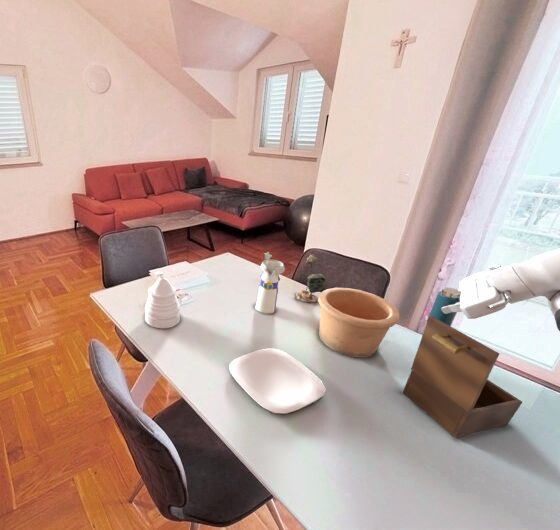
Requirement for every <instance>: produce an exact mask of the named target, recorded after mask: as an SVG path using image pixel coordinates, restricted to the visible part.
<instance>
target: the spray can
mask: <svg viewBox="0 0 560 530" xmlns="http://www.w3.org/2000/svg"><path fill="white" fill-rule="evenodd" d="M460 295H461V291H459V289H457V288H453V287H448V286H447V287H443V288H442V290H440V291H438V292H437V295H436V297H435V299H434V301H433V305H432V307H431V309H430V311H429V314H428V317H427V319H426V322H427V321H428V318H429V316H433V317H434V318H436V319H438V320H440V321H442V322H443V323H445V324H447V325H449V326H451V327H452V325H453V322H454V320H455V317H456V316H457V313H458V312H451V313H447V314H445V313H443V311H442V310H441V307H442V306H445V305H453V304H456V303H457V302H460Z"/></svg>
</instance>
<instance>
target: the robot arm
mask: <svg viewBox="0 0 560 530" xmlns="http://www.w3.org/2000/svg"><path fill="white" fill-rule="evenodd" d="M458 290H459V291H461V295H460V302H457V303H456V304H453V305H445V306H442V307H441V310H442V311H443V313H445V314H447V313H451V312H457V313H462V314H463V315H464V316H465V317H466V318H467V319H469V320H474V319H478V318H482V317H486V316H488V315H491V314H495V313H497V312H500V311H502V310H504V309H505V308H506V306H507V305H508V304H510V305H512V304H513V305H514V304H516V303H517V304H518V303H520V302H524V301H527V300H531V299H534V298H538V297H545V300H546V303H547V305H548V307H549V311H550V312H551V314H552V316H553V317H554V321H555V325H556V329H557V330H558V331H559V332H560V247H559V248H556V249H552V250H549V251H545V252H543V253H540V254H537V255H535V256H533V257H531V258H529V259H527V260H524V261H522V262H514V263H511V264H508V265H502V264H494V265H491V266H488V268H487V269H486V270H482V271H480V272H476V273H474V274H472V275H469V276H467V277H464V278H463V279H461V280H460V281H459V282H458Z"/></svg>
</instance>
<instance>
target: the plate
mask: <svg viewBox="0 0 560 530" xmlns="http://www.w3.org/2000/svg"><path fill="white" fill-rule="evenodd" d="M228 369H229V373H230V375H231V376H232V378H233V379H234V381H235V382H236V383H237V384H238V386H240V387H241V389H242V390H243V391H244V392H245V393H246V394H247V395H248V396H249V397H250V398H251V399H252V400H253V401H254V402H255V403H256V404H257V405H258V406H260V407H261V408H262V409H264V410H266V411H268V412H270V413H272V414H276V415H277V414H279V415H286V414H290V413H293V412H297V411H299V410H301V409H303V408H306V407H307V406H309V405H311V404H314V403H315V402H317V401H318V400H319V399H321V398H322V397H324V395H325V393H326V389H327V388H326V387H325V385H324V383H323V381H322V380H321V379H320V377H318V376H317V375H316V374H315V372H313V371H312V370H310V369H309V368H307V366H305V365H304V364H303V363H301V362H300V361H299V360H298V359H296V358H295V357H294V356H292V355H290V354H289V353H288V352H286V351H283V350H282V349H278V348H273V347H272V348H271V347H266V348H262V349H261V348H260V349H257V350H254V351H252V352H249V353H246V354H243V355H240V356H239V357H236V358H234V359H233V360H232V361H231V362H230V363H229V364H228Z"/></svg>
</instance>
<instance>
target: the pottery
mask: <svg viewBox="0 0 560 530" xmlns="http://www.w3.org/2000/svg"><path fill="white" fill-rule="evenodd" d="M317 302H318V305H319V306H320V317H319V330H318V334H319V339H320V340H321V341H322V342H323V343H324V345H326V347H328V348H330V349H331V350H332V351H334V352H337V353H339V354H341V355H344V356H348V357H353V358H367V357H371V356H373V355H374V354H375V353H376V352H377V350H378V348H379V347H380V345H381V344H382V342H383V340H384V338H385V336H386V335H387V334H388V331H389V330H390V328H393V327H394V326H395V325H397V324H398V323H399V321H400V311H399V310H398V309H397V307H396V306H395V305H394V304H393V303H391V302H389V301H388V300H387V299H386V298H383V297H381V296H378V295H377V294H374V293H372V292H371V293H370V292H367V291H364V290H362V289H355V288H350V287H332V288H327V289H324V290H323V292H321V291H320V294H319V296H318V298H317Z"/></svg>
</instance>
